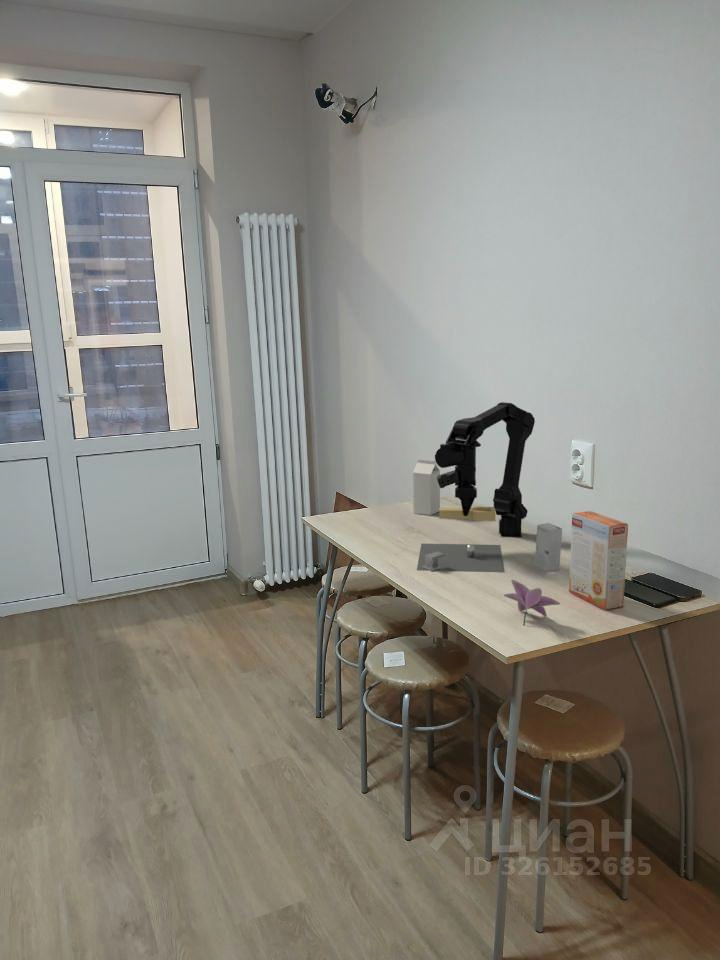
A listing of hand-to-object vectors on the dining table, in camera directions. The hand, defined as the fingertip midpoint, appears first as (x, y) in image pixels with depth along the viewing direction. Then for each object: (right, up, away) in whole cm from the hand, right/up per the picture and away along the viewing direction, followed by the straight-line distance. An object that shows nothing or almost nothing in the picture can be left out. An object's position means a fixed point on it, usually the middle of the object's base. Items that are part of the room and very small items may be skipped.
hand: (465, 514), depth 224 cm
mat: (-2, -12, -6) cm, 14 cm away
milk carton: (-8, -2, +46) cm, 46 cm away
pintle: (+1, -12, -6) cm, 13 cm away
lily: (+8, -22, -50) cm, 55 cm away
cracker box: (+27, -19, -39) cm, 51 cm away
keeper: (-12, -14, -15) cm, 24 cm away
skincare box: (+21, -14, -16) cm, 30 cm away
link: (0, -1, 0) cm, 1 cm away
